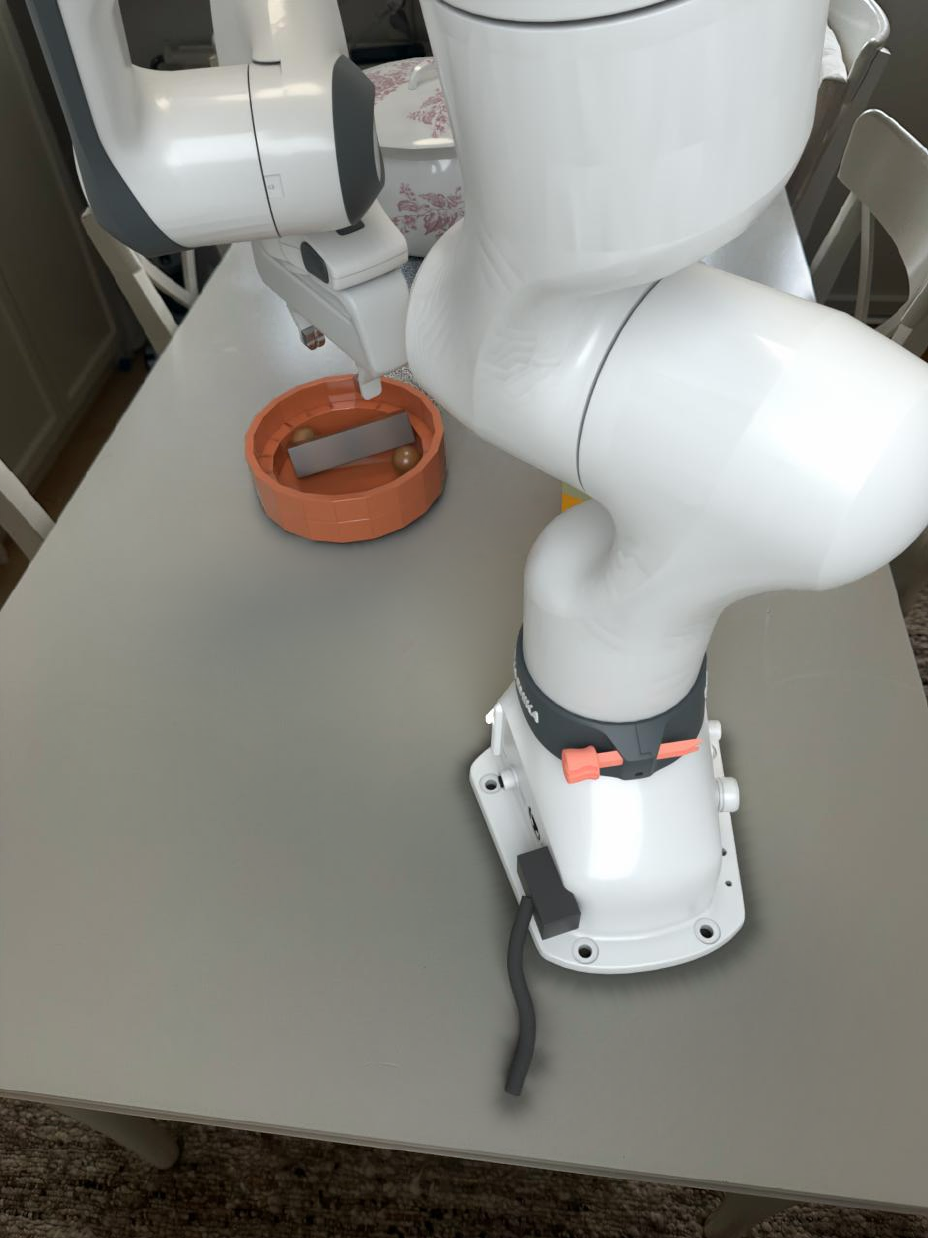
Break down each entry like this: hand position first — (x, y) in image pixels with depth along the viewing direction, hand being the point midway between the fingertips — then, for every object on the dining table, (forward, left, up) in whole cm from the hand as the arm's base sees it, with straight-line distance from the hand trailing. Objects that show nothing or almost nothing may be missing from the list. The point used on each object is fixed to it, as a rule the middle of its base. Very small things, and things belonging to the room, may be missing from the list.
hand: (340, 368), depth 76 cm
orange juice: (-11, -23, -13) cm, 29 cm away
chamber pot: (+48, -14, -13) cm, 51 cm away
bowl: (0, +1, -13) cm, 13 cm away
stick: (+2, 0, -10) cm, 10 cm away
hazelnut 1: (+2, +3, -11) cm, 12 cm away
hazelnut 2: (-1, -4, -13) cm, 13 cm away
